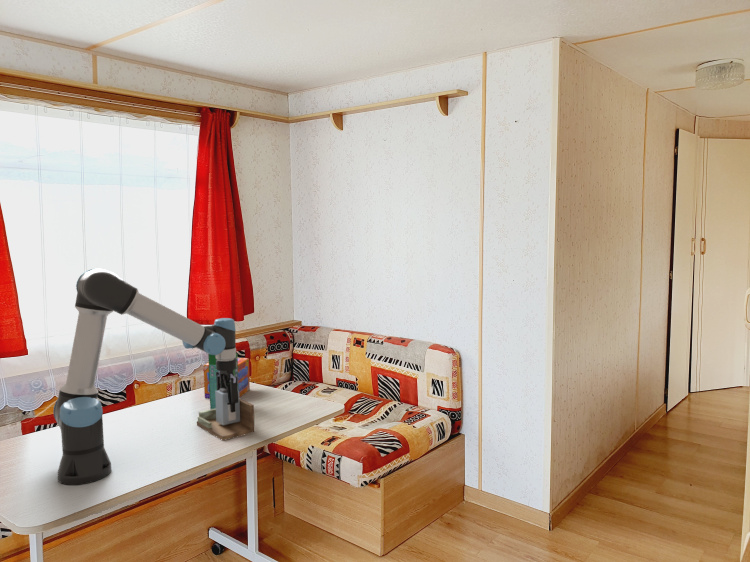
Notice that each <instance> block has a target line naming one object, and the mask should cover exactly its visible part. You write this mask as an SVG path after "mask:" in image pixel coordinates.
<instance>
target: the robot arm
mask: <svg viewBox="0 0 750 562" xmlns="http://www.w3.org/2000/svg"><path fill="white" fill-rule="evenodd" d="M78 277H79V278H77V281H76V285H75V287H76V288H75V289H76V293H77V294H76V299H75V304H74V308H75V309H76V310H77V311H78V316H77V321H76V326H75V327H76V328H75V332H74V337H73V338H74V339H73V343H72V349H71V354H70V359H69V360H70V361H69V363H68V364H69V366H68V371H67V377H66V381H65V384H63V385H62V386H61V387H60V388H59V392H58V397H57V399H56V400H55V403H54V405H53V409H52V411H53V412H52V413H53V417H54V420H55V421H56V424H57V425H58V426H59V429H60V433H61V445H62V446H61V449H62V450H61V451H62V454H61V455H62V456H61V459H60V462H59V467H58V469H57V472H56V473H57V482H59V483H61V484H64V485H69V486H70V485H73V486H74V485H75V486H77V485H85V484H89V483H92V482H96V481H99V480H101V479H103V478H106V477H107V476H109V474H110V473H111V471H112V462H111V460H110V457H109V456H108V453H107V450H106V449H105V444H104V442H105V441H104V427H103V426H104V424H103V413H104V411H103V406H102V403H101V401H100V400H99V399H98V396H99V389H98V388H97V387H96V386H95V385H96V384H95V383H96V379H97V374H98V369H99V362H100V357H101V352H102V347H103V341H104V336H105V335H104V334H105V330H106V323H107V320H108V319H107V318H108V316H109V315H110V314H111V313H114V312H115V313H117V314H119V315H125V314H127V315H129V316H131V317H133V318H134V319H137V320H139V321H140V322H143V323H146V324H147V325H150V326H151V327H154V328H155V329H158V330H160V331H162V332H164V333H166V334H168V335H170V336H172V337H174V338H176V339H178V340H180V341H181V342H182V345H183V347H184V348H185V349H199V350H200V351H202V352H204V353H206V354H207V355H208V354H210V355H216V359H217V360H216V369H217V370H219V372H216V378H217V391H218V390H219V389H221V388H226V389H227V393H228V400H229V403H227V404H228V421H232V420H236V412H235V403H238V386H237V382H238V378H237V377H234V374H233V370H234V369H236V359H235V357H236V353H237V348H236V324H235V323H236V322H235V319H233V318H229V317H221V318H216V319H214V322H213V324H212V325H205V326H204V325H201V324H200V323H198V322H196V321H193V320H192V319H190V318H188V317H185V316H184V315H182V314H181V313H178V312H176V311H174V310H172V309H171V308H168V307H167V306H166V305H163V304H161V303H159V302H157V301H156V300H153V299H151V298H149V297H147V296H146V295H143V294H142V293H140V292H139V289H138V288H137V287H135V286H133V285H131V283H130V284H129V283H128V282H126V281H125V280H124V279H122V278H121V277H120V276H118V275H117V274H116V273H115V272H112V271H109V270H107V269H104V268H103V269H102V268H98V267H96V268H90V269H88V270H86V271H84V272H82V273H81V274H80V276H78ZM229 383H230V384H229Z"/></svg>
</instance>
